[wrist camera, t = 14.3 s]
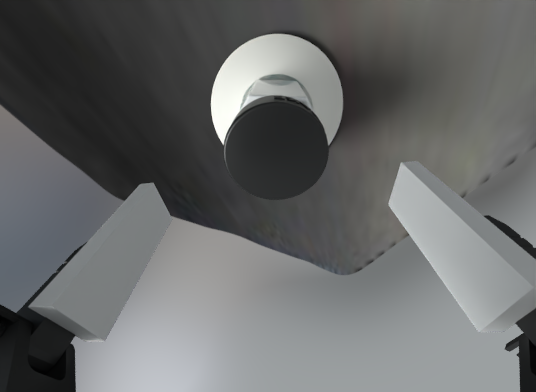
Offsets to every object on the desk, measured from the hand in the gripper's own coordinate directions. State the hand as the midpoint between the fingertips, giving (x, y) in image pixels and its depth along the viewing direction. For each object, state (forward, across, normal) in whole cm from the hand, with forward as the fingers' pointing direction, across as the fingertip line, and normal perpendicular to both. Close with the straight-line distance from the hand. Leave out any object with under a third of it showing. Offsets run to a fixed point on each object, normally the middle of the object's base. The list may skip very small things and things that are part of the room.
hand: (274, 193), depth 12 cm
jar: (+17, 0, -1) cm, 17 cm away
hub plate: (+18, 0, -1) cm, 18 cm away
